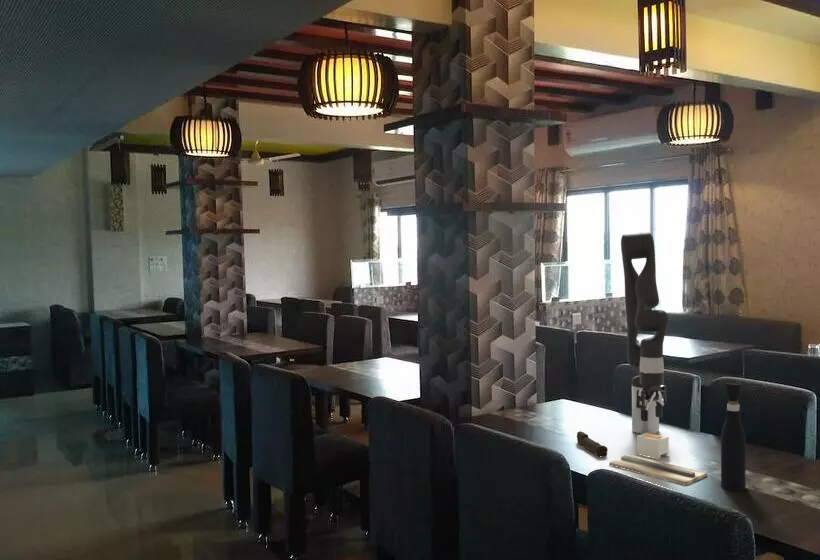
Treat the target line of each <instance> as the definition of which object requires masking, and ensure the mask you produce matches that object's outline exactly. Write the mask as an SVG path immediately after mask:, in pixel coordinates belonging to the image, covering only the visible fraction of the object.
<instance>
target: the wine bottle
mask: <svg viewBox="0 0 820 560" xmlns="http://www.w3.org/2000/svg"><path fill="white" fill-rule="evenodd" d="M741 388H742V386H741V382H735V381H734V382H733V381H731V382H730V381H729V382H726V383H725V395H727V397H728V398H727V399H728V400H727V401H728V402H727V405H726V406H727V407H726V410H725V421H724V424H723V427H722V430H721V435H720V480H721V482H720V484H721V485H720V487H721V488H722V489H724V490H728V491H731V492H743V491H745V490H746V489H747V488H746V487H747V486H746V481H747V480H746V479H747V478H746V469H747V468H746V465H747V464H746V463H747V462H746V461H747V459H746V456H747V455H746V453H747V452H746V451H747V450H746V449H747V447H746V442H747V441H746V440H747V439H746V434H745V429H744V426H743V423H742V421H741V410H740V407H741V405H740V403H739V396H741V395H742V394H741V393H742V390H741Z"/></svg>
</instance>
